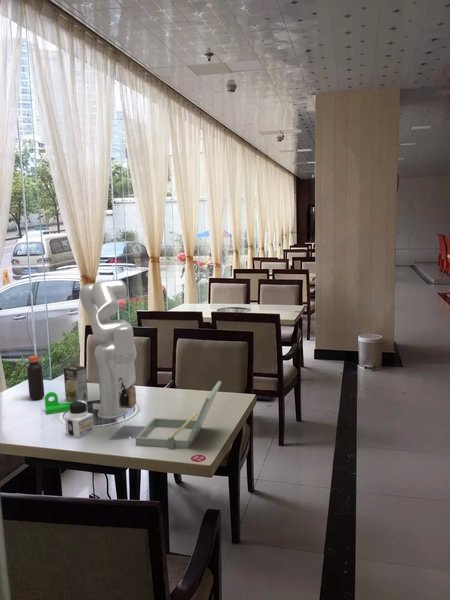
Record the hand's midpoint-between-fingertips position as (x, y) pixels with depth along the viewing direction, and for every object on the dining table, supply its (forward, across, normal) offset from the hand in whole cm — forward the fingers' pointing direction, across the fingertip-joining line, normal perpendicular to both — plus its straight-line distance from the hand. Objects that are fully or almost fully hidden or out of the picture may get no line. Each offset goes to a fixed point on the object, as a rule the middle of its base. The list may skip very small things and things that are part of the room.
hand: (127, 402), depth 204 cm
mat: (+13, 0, 0) cm, 13 cm away
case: (+13, +1, +17) cm, 21 cm away
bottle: (+12, -36, -62) cm, 73 cm away
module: (+1, 0, 0) cm, 1 cm away
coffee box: (+13, -34, -40) cm, 54 cm away
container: (+13, +2, -20) cm, 24 cm away
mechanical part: (+13, -22, -42) cm, 49 cm away
